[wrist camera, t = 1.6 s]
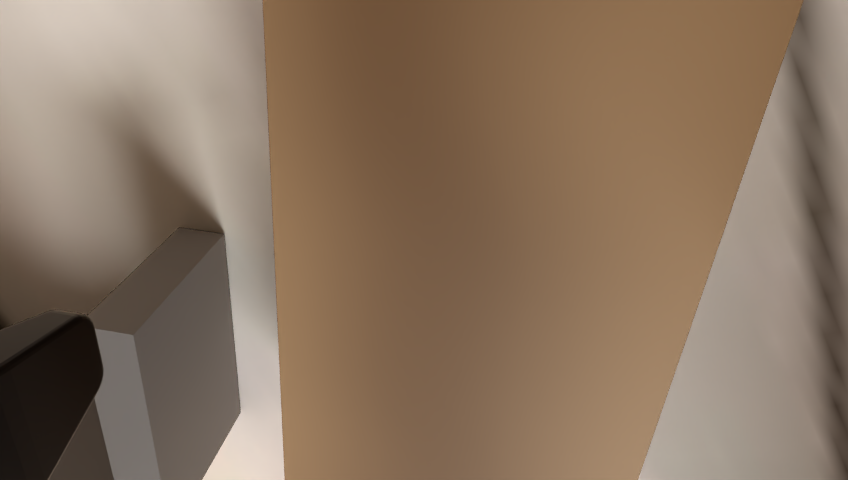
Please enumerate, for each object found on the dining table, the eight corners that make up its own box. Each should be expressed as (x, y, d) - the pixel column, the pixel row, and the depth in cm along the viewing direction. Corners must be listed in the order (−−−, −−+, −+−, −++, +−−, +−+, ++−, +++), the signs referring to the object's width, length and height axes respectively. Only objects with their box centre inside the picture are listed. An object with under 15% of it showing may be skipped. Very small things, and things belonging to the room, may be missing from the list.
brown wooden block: (750, -269, 9) (945, -408, 4) (562, 461, 16) (567, 682, 11) (385, -292, 9) (242, -434, 5) (360, 424, 16) (291, 622, 12)
